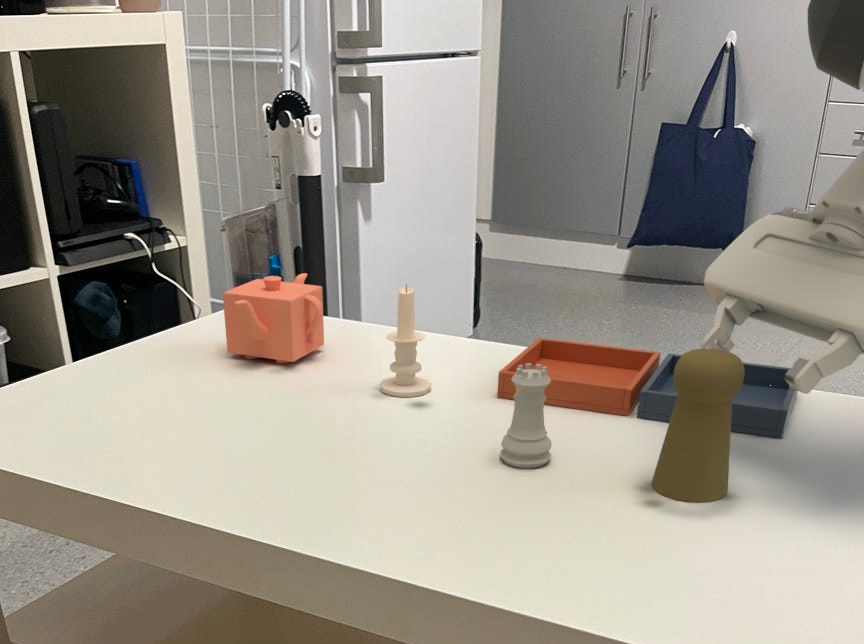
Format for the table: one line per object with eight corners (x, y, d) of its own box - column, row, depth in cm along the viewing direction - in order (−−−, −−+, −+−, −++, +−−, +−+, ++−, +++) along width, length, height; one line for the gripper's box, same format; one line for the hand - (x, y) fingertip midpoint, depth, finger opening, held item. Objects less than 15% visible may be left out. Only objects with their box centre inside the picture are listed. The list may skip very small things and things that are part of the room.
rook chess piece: (527, 473, 85) (534, 380, 81) (488, 458, 88) (493, 367, 83) (561, 460, 87) (570, 368, 83) (523, 446, 90) (529, 356, 86)
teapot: (194, 365, 110) (186, 286, 106) (265, 331, 122) (260, 258, 117) (289, 380, 106) (285, 298, 101) (353, 343, 117) (352, 268, 113)
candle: (425, 398, 101) (427, 291, 95) (374, 395, 102) (374, 288, 96) (435, 382, 105) (437, 278, 100) (386, 379, 106) (386, 276, 101)
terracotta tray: (657, 376, 107) (660, 352, 105) (628, 416, 97) (631, 389, 95) (536, 361, 111) (538, 337, 110) (497, 397, 101) (498, 371, 100)
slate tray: (796, 394, 102) (802, 369, 100) (781, 438, 92) (787, 410, 90) (664, 377, 106) (668, 353, 105) (636, 417, 96) (640, 390, 95)
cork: (715, 508, 79) (741, 369, 73) (640, 491, 82) (660, 356, 76) (736, 482, 83) (763, 348, 78) (665, 466, 86) (685, 336, 80)
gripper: (760, 177, 83) (647, 312, 84) (979, 215, 67) (833, 380, 69) (791, 231, 87) (681, 359, 88) (1004, 279, 71) (866, 434, 72)
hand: (749, 369), depth 78 cm, fingers open, 8 cm apart
